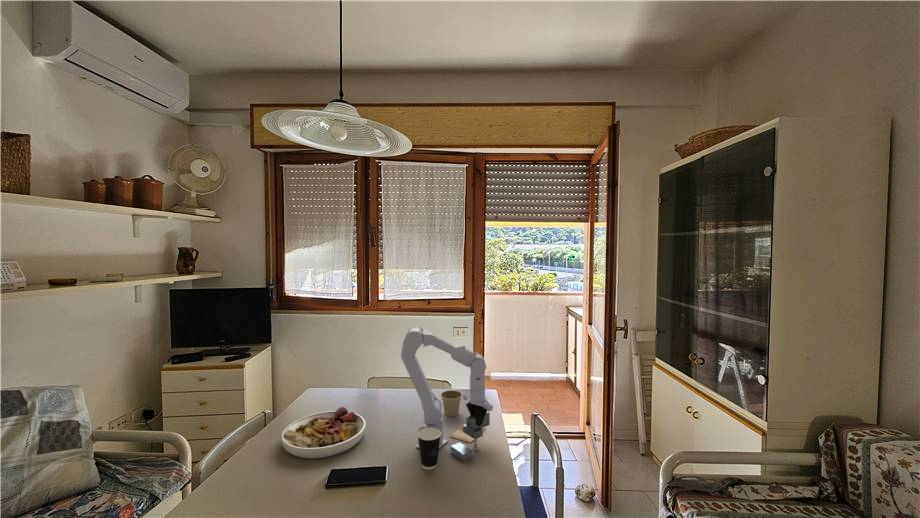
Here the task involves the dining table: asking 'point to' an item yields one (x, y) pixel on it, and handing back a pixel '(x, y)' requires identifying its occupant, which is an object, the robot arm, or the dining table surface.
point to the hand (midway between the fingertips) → (477, 423)
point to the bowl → (323, 433)
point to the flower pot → (451, 402)
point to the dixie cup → (429, 447)
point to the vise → (463, 450)
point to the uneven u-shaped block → (475, 425)
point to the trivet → (463, 435)
